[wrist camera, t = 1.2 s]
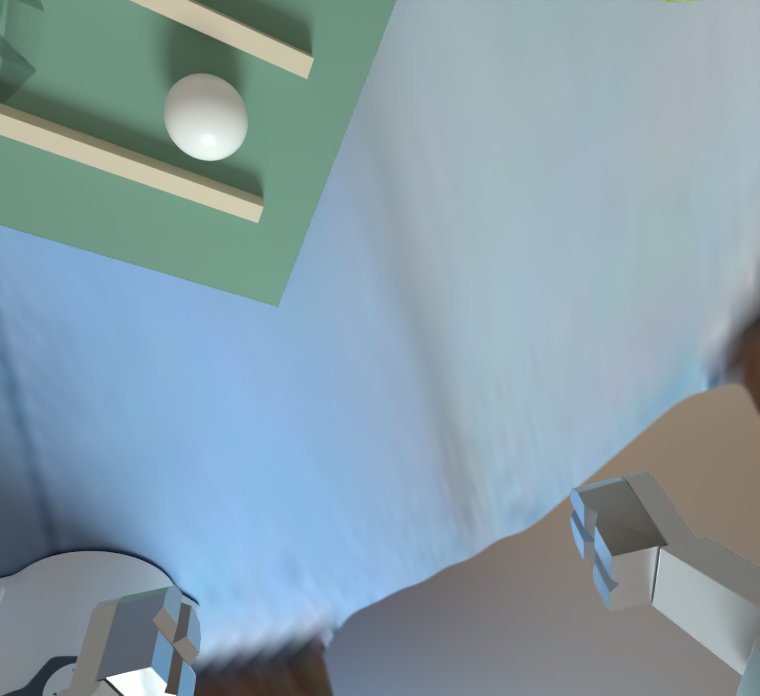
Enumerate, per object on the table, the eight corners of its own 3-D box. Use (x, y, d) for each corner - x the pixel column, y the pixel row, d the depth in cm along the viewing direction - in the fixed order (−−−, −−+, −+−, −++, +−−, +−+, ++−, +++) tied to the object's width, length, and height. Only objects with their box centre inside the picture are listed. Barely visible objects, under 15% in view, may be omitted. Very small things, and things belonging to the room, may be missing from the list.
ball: (236, 160, 31) (233, 182, 28) (161, 132, 30) (148, 152, 27) (259, 87, 30) (257, 102, 26) (180, 53, 28) (168, 65, 25)
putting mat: (400, -35, 30) (423, -36, 25) (277, 289, 39) (278, 331, 34) (-305, -423, 20) (-472, -536, 16) (-251, 127, 29) (-347, 156, 25)
